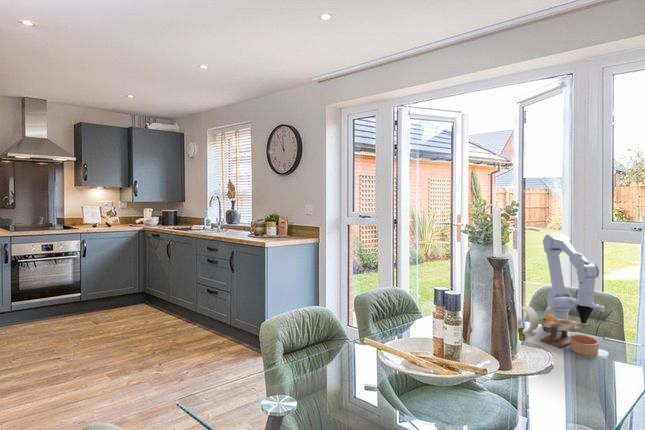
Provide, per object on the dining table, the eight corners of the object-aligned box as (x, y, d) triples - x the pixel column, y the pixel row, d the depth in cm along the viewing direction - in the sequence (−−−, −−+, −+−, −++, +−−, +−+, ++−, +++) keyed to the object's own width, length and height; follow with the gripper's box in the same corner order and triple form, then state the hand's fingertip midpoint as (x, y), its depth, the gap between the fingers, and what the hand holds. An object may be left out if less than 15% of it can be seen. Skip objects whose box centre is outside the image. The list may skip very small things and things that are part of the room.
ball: (543, 323, 196) (543, 314, 196) (548, 321, 198) (547, 312, 198) (552, 325, 192) (551, 316, 192) (557, 323, 195) (556, 314, 194)
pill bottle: (520, 347, 187) (521, 322, 186) (505, 343, 191) (506, 319, 189) (523, 342, 192) (525, 317, 191) (509, 338, 196) (510, 314, 194)
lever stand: (540, 341, 193) (541, 324, 192) (556, 334, 200) (557, 318, 199) (560, 348, 185) (562, 331, 184) (576, 341, 193) (577, 324, 192)
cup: (565, 348, 185) (565, 338, 185) (577, 342, 191) (578, 332, 190) (590, 357, 177) (591, 346, 177) (602, 351, 183) (603, 340, 182)
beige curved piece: (540, 331, 196) (539, 319, 196) (554, 325, 202) (553, 313, 202) (576, 338, 183) (575, 325, 183) (590, 332, 189) (589, 319, 189)
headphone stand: (526, 330, 205) (528, 305, 203) (537, 335, 199) (539, 309, 198) (519, 332, 203) (521, 307, 201) (530, 337, 197) (532, 311, 196)
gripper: (563, 289, 191) (561, 319, 193) (599, 298, 179) (597, 330, 181) (572, 286, 195) (570, 316, 197) (608, 295, 183) (605, 326, 185)
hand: (583, 322), depth 189 cm, fingers closed
